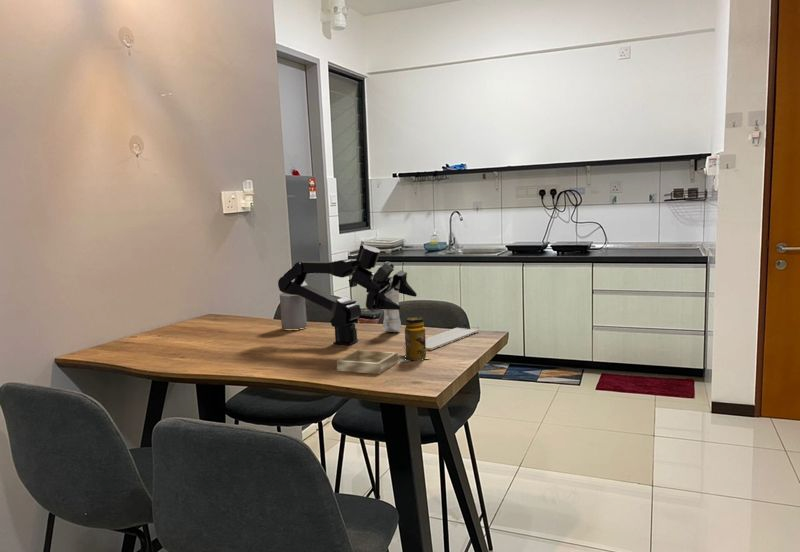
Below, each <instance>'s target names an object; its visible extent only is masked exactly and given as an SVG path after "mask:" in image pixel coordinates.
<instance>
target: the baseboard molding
mask: <svg viewBox="0 0 800 552" xmlns="http://www.w3.org/2000/svg"><path fill="white" fill-rule="evenodd" d="M454 326H457V325H455V324H452V326H450V327H449V328H450V329H449V331H448V330H446V331H443V332H441V333H437V334H434V335H435V336H434V335H432V336H430V337H429V336H428V337H427V338H426V337H425V340H426V350H432V351H434V350H433V349H435V348H437V347H440V346H442V345H445V344H447V345H449V344H448V343H450V342H452V341H455V340H458V339H460V338H463V337H465V338H467V337H466V336H468V335H470V336H472V335H471V334H473V335H475V334H474V333H476V334H478V333H479V332H480V330H479V326H477V327H475V326H474V328H475V329H474V328H473V329H472V328H465V327H468V324H462V325H461V327H455V328H453V327H454ZM463 327H464V328H463ZM476 328H477V329H476ZM476 331H479V332H476ZM468 337H469V336H468ZM463 339H464V338H463ZM460 340H461V339H460ZM458 341H459V340H458ZM455 342H456V341H455ZM450 344H451V343H450ZM445 346H446V345H445ZM403 347H405V345H404V346H403ZM442 347H443V346H442ZM440 348H441V347H440ZM437 349H438V348H437ZM435 350H436V349H435Z"/></svg>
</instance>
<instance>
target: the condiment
mask: <svg viewBox="0 0 800 552" xmlns="http://www.w3.org/2000/svg"><path fill="white" fill-rule="evenodd" d="M424 321H425V320H424V318H423V317H420V316H413V317H412V316H410V317H408V318H407V317H406V319H405V328H404V339H405V340H404V341H405V342H404V344H405V345H404V346H405V347H406V348H405V354H401V355H400V354H398V361H400V362H402V363H405V362H411V361H410V360H419V361H423V360H422V359H425V358H426V356H427V351H426V340H425V339H426V328H425V326H424ZM405 356H406V357H405ZM405 359H406V360H405ZM408 360H409V361H408Z"/></svg>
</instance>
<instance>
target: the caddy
mask: <svg viewBox="0 0 800 552" xmlns="http://www.w3.org/2000/svg"><path fill="white" fill-rule="evenodd" d="M398 355H399V353H398V352H391V351H378V350H377V351H376V350H374V351H373V350H360V349H358V350H355V351H352V352H351V353H349V354H348V355H345V356H344V357H341V358H340V359H338V360H336V371H337V372H349V373H361V374H374V375H375V374H376V375H377V374H378V375H380V374H382V373H383V372H385V371H386V370H388V369H389V368H392V366H395V365H396V364H397V363H399V358H398Z"/></svg>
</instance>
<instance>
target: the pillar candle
mask: <svg viewBox="0 0 800 552" xmlns="http://www.w3.org/2000/svg"><path fill="white" fill-rule="evenodd" d="M279 305H280V321H281V330H282V329H300V328H305V327H308V321H307V319H308V318H307V309H306V308H307V307H306V299H305V298H303V297H301V296H299V295H291V294H287V293H283V292H281V293H280V294H279ZM305 329H306V328H305Z"/></svg>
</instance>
